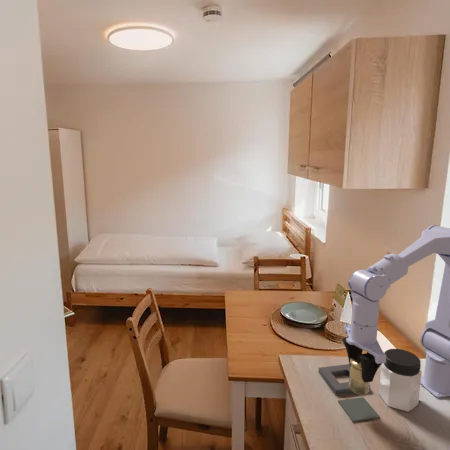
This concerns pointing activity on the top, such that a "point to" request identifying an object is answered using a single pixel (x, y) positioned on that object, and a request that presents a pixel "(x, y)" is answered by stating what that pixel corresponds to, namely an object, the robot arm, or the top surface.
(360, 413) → the mat
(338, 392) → the housing
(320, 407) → the top surface
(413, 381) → the jar
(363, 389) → the gold rounded piece
